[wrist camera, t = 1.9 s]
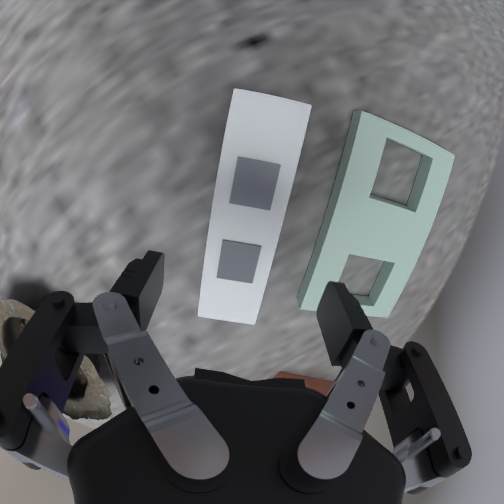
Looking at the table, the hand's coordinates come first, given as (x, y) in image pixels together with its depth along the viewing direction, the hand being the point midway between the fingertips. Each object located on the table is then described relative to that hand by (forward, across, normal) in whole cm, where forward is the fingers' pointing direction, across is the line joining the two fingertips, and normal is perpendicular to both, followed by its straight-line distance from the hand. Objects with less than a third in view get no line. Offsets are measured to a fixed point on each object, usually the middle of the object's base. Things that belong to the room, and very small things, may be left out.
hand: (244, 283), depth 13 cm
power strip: (+14, 0, 0) cm, 14 cm away
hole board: (+14, -14, 0) cm, 20 cm away
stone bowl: (+15, +27, +28) cm, 41 cm away
